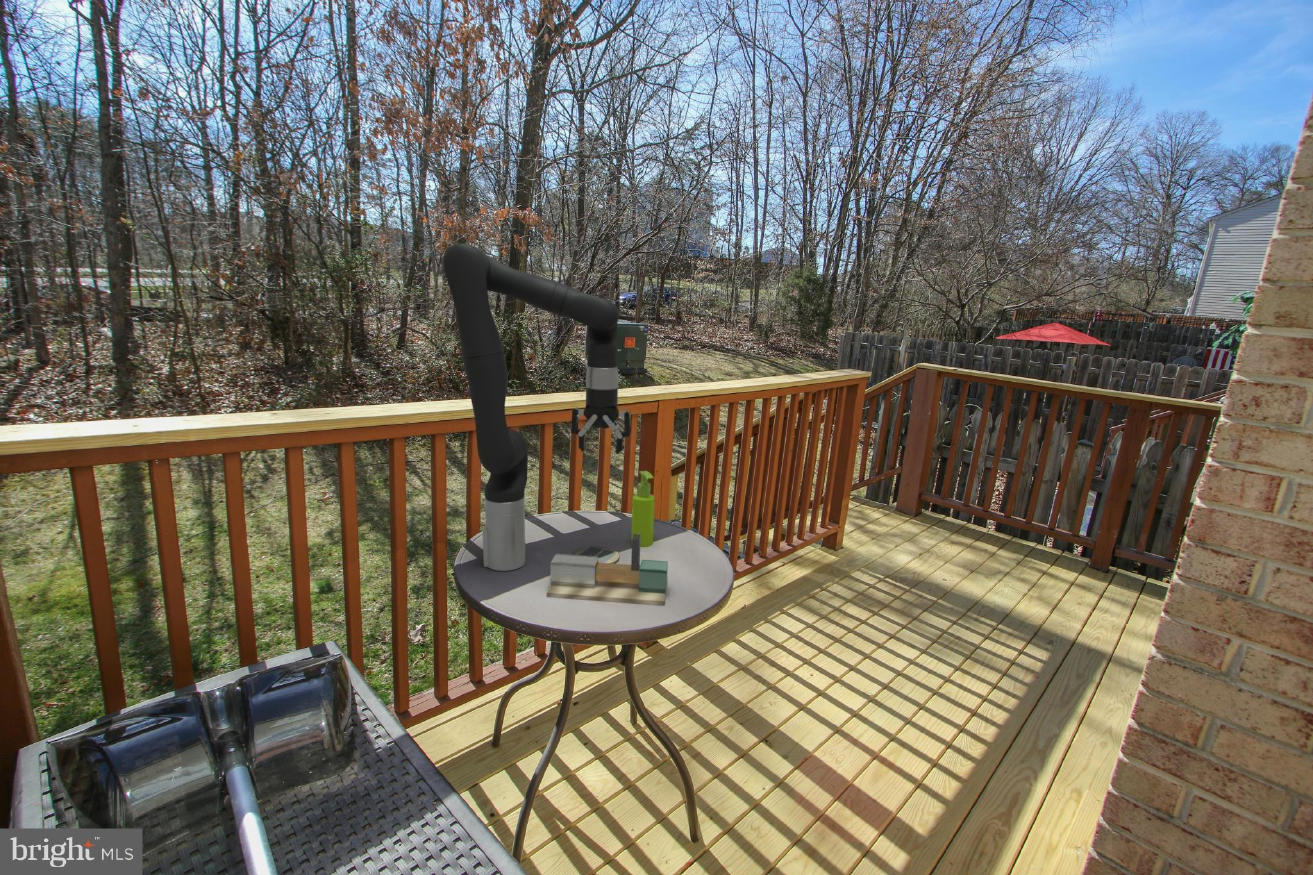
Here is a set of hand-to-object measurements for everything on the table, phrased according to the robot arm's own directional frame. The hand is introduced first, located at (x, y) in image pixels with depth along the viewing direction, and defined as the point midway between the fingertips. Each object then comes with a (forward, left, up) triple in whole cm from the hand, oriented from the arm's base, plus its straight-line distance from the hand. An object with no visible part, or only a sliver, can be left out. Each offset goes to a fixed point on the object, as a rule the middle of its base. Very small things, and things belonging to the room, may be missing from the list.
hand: (600, 451), depth 148 cm
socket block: (+15, -15, -28) cm, 35 cm away
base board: (+5, -15, -28) cm, 32 cm away
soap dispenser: (+10, +12, -28) cm, 32 cm away
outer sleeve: (-3, -15, -28) cm, 32 cm away
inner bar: (+6, -15, -26) cm, 30 cm away
